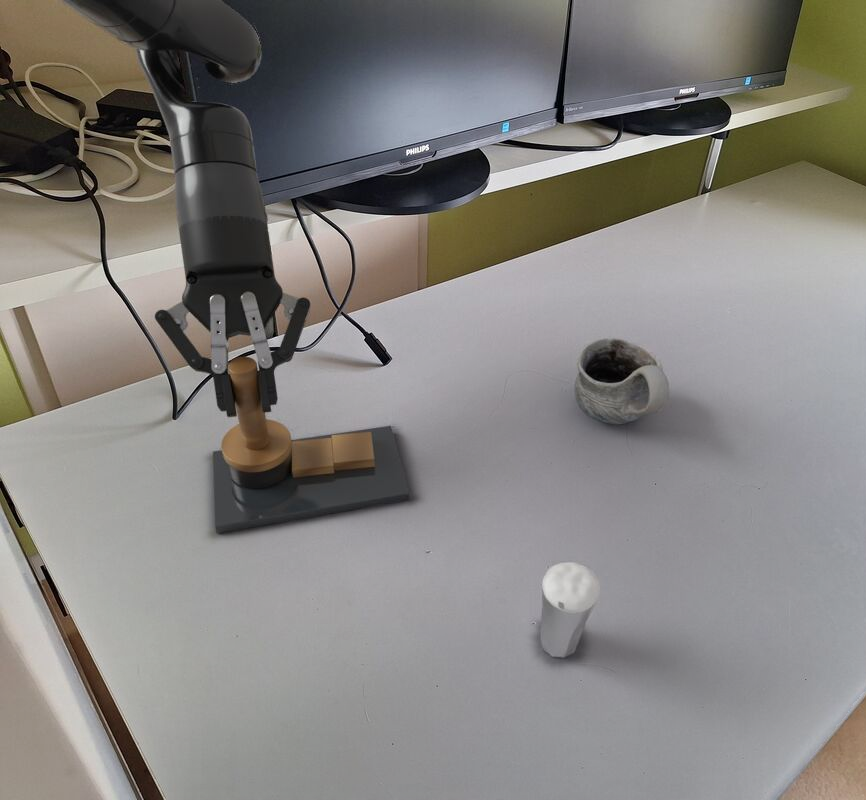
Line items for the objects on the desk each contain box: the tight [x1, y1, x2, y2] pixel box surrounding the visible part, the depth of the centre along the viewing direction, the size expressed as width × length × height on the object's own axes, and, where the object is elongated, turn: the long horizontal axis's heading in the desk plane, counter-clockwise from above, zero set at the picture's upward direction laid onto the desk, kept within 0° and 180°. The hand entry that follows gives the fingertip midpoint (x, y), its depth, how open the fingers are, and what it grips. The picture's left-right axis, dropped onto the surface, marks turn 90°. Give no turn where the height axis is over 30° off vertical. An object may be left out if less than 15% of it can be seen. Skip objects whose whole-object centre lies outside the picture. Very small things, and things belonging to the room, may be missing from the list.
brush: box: [220, 356, 293, 488], centre depth 71 cm, size 6×6×13 cm
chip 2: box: [332, 432, 375, 471], centre depth 78 cm, size 4×4×1 cm
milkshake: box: [539, 561, 601, 659], centre depth 62 cm, size 4×5×10 cm
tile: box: [212, 425, 410, 534], centre depth 76 cm, size 18×10×1 cm, turn 109°
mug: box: [574, 336, 670, 425], centre depth 85 cm, size 10×12×10 cm
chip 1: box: [291, 438, 334, 478], centre depth 77 cm, size 4×4×1 cm
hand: (249, 413), depth 68 cm, fingers closed on brush, 2 cm apart
